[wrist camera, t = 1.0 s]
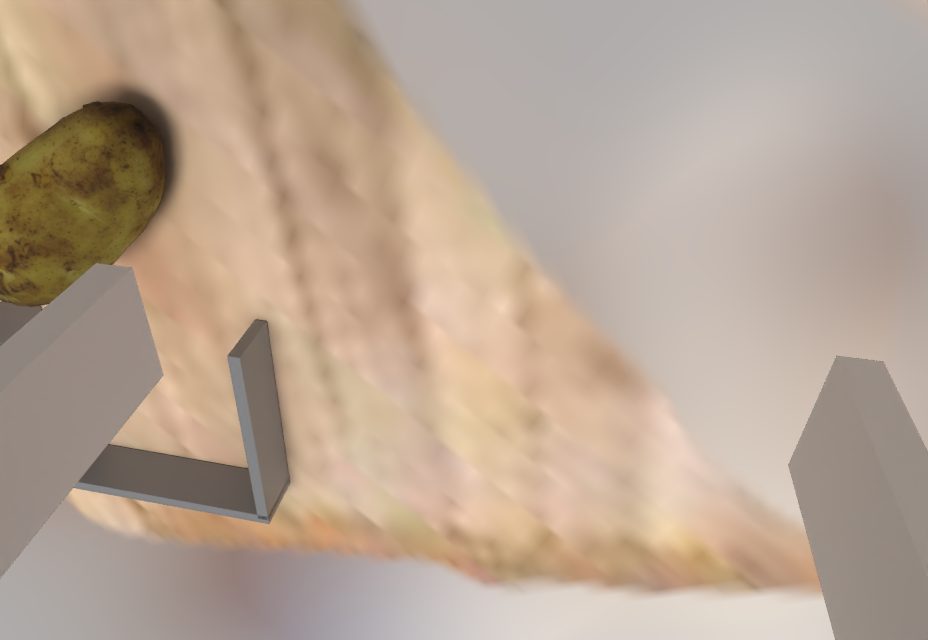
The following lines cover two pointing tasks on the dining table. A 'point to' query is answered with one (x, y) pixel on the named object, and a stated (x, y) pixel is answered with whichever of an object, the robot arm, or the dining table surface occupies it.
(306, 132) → the dining table surface
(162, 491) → the box
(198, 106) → the dining table surface
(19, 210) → the potato
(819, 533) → the robot arm
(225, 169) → the dining table surface
